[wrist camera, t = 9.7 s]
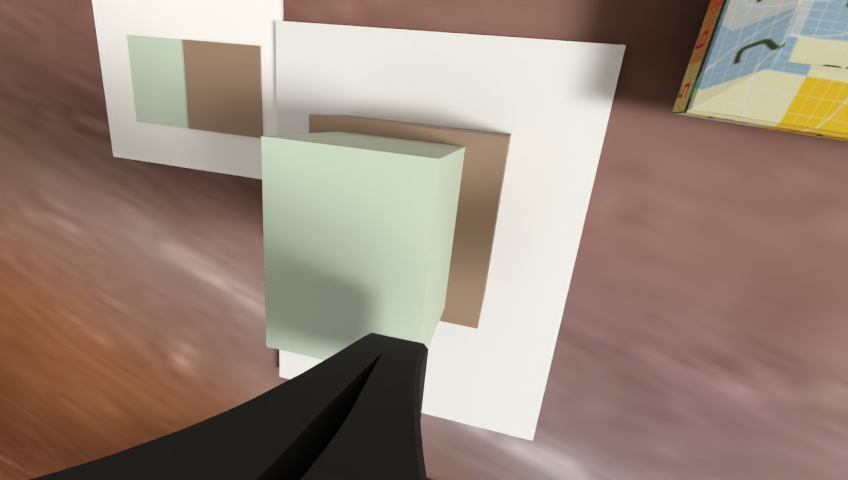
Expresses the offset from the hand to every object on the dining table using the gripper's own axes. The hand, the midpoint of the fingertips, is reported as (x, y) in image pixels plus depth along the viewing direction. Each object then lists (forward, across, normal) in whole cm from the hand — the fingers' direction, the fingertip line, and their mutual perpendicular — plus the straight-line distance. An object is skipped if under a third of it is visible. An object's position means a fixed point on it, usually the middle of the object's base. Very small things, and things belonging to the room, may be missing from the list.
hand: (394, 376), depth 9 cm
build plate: (+10, +2, 0) cm, 10 cm away
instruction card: (+10, +14, -6) cm, 18 cm away
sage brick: (+6, +2, -2) cm, 7 cm away
